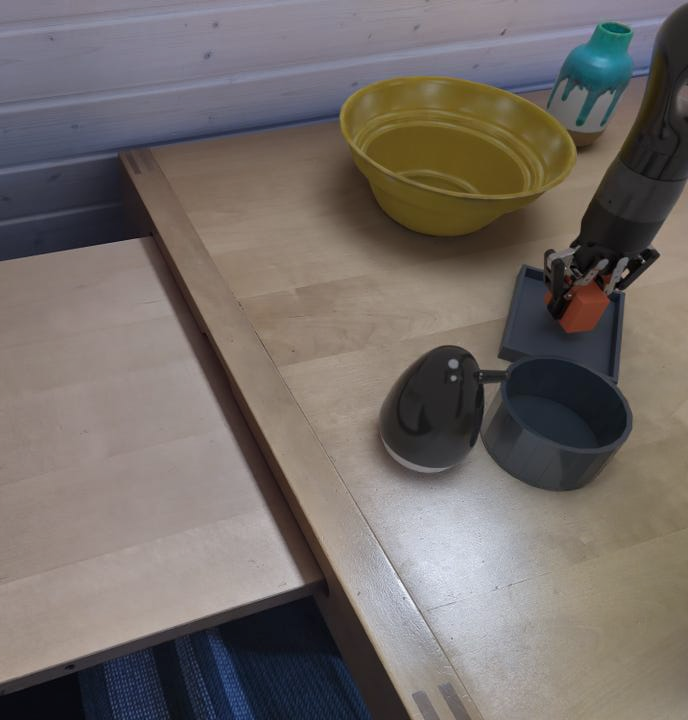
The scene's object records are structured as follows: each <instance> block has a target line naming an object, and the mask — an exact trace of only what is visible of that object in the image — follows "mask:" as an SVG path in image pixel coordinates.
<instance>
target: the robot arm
mask: <svg viewBox="0 0 688 720" xmlns="http://www.w3.org/2000/svg"><path fill="white" fill-rule="evenodd" d="M651 50H652V51H651V56H650V62H649V70H648V74H647V79H646V84H645V89H644V93H643V96H642V100H641V103H640V106H639V109H638V112H637V115H636V118H635V119H634V122H633V124H632V126H631V128H630V130H629V132H628V134H627V136H626V138H625V140H624V142H623V144H622V146H621V147H620V149H619V151H618V153H617V154H616V156H615V158H613V160H612V161H611V163H610V164H609V166H608V167H607V169H606V171H605V172H604V174H603V176H602V179H601V181H600V183H599V184H598V187H597V189H596V190H595V192H594V194H593V196H592V198H591V200H590V202H589V204H588V206H587V207H586V209H585V212H584V214H583V215H582V217H581V220H580V230H579V234H578V235H577V236H576V237H575V239H573V240H572V241H571V242H570V244H569V246H568V248H565V249H563V250H559V251H555V249H554V248H549V249H547V250H545V251H544V253H543V270H544V280H543V282H544V284H545V285H546V287H547V288H548V290H549V291H550V292H551V294H552V297H551V299H550V301H549V303H548V305H547V309H548V311H549V313H550V314H551V316H552V317H553V318H554V320H560V319H562V317H563V315H564V313H565V312H566V310H567V308H568V306H569V305H570V303H571V301H572V298H573V297H574V296H575V294H576V293H577V292H578V291H579V290H580V288H581V287H586V286H587V285H588V284H589V283H590V281H591V280H592V279H593V280H594V281H595V282H596V284H597V285H598V286H599V287H600V289H601V290H602V291H603V292H604V294H605V295H606V296H608V295H609V294H611V293H612V291H613V290H617V291H621V292H624V291H625V290H627V289H628V288H629V287H630V286H631V285H632V284H633V283H634V282H635V281H636V280H637V279H638V278H640V276H642V274H644V272H646V271H647V270H648V269H649V268H650V267H651V266H652V265H653V264H654V263H655V262H656V261H657V260H658V259H659V258H660V256H661V254H660V252H659V251H658V250H657V249H656V248H655V247H654V245H652V243H653V241H654V239H655V238H656V236H657V234H658V233H659V232H660V229H661V228H662V227H663V225H664V223H665V222H666V220H667V219H668V217H669V215H670V214H671V212H672V211H673V209H674V207H675V205H676V204H677V202H678V200H679V199H680V197H681V196H682V193H684V189H685V187H686V184H687V182H688V99H687V98H684V97H683V96H681V95H680V94H681V92H682V90H683V89H684V87H685V86H686V87H687V86H688V1H686V2H685V3H683V4H680V5H679V6H678V7H677V8H675V9H674V10H673V11H671V13H669V14H668V15H667V17H666V18H665V19H664V20H663V22H662V23H661V24H660V27H659V28H658V30H657V33H656V35H655V38H654V42H653V46H652V49H651ZM627 270H628V274H626V275H625V276H624V277H623V276H622V274H623V273H624V272H625V271H627ZM582 274H583V275H582ZM570 280H572V284H571V285H570V286H569V285H568V284H567V283H568V282H569V281H570Z"/></svg>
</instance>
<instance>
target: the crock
mask: <svg viewBox="0 0 688 720" xmlns="http://www.w3.org/2000/svg"><path fill="white" fill-rule="evenodd" d="M505 371H509V372H510V380H509V381H508V382H500V383H496V386H495V388H494V390H493V392H492V394H491V396H490V398H489V400H488V403H487V404H486V406H485V407H484V415H483V420H482V425H481V429H480V436H481V440H482V442H483V445H484V447H485V449H486V450H487V452H488V454H489V455H490V457H491V458H492V459H493V461H494V462H495V463H496V464H497V465H498V466H500V467H501V468H502V470H504V471H505V472H506V473H508V474H509V475H511V476H512V477H514V478H516V479H517V480H519V481H521V482H523V483H525V484H527V485H529V486H533V487H535V488H538V489H542V490H547V491H552V492H553V491H554V492H570V491H575V490H579V489H582V488H584V487H587V486H588V485H590V484H591V483H592V482H593V481H595V479H596V478H597V477H598V476H600V475H601V474H602V472H603V471H604V470H605V468H606V467H607V466H608V464H609V463H610V462H611V461H612V459H613V458H615V456H616V455H617V453H618V452H619V451H620V449H622V447H623V446H624V444H625V443H626V442H627V441H628V438H629V437H630V434H631V433H632V431H633V424H634V423H633V421H634V416H633V411H632V409H631V406H630V404H629V401H628V399H627V397H626V396H625V395H624V394H623V392H622V390H620V388H619V387H618V386H617V385H615V384H614V383H613V382H611V381H610V380H609V379H608V378H607V377H606V376H605V375H603V374H602V373H600V372H598V371H597V370H595V369H593V368H592V367H590V366H588V365H586V364H584V363H581V362H579V361H576V360H574V359H571V358H567V357H562V356H557V355H532V356H528V357H524V358H520V359H519V360H517V361H516V362H512V363H511V364H509V365H508V366H507V368H506V369H505Z"/></svg>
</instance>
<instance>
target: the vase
mask: <svg viewBox="0 0 688 720" xmlns="http://www.w3.org/2000/svg"><path fill="white" fill-rule="evenodd" d="M634 34H635V29H634V28H633V27H632V26H631V25H629V24H628V23H625V22H622V21H618V20H610V19H609V20H608V19H607V20H602V21H600V22H598V23H597V25H596V27H595V28H594V31H593V33H592V35H591V37H590V39H589V40H588V41H587V42H585V43H581V44H579V45H577V46H575V47H574V48H573V49H571V51H570V52H569V53H568V54H567V57H566V58H565V60H564V62H563V63H562V66H561V67H560V70H559V71H558V74H557V76H556V79H555V81H554V82H553V85H552V88H551V91H550V93H549V96H548V99H547V102H546V105H545V108H544V110H545V111H546V112H547V113H549V114H550V115H552V116H553V117H554V118H555V119H556V120H557V121H559V122H560V123H561V124H562V126H563V127H564V128H565V129H566V130H567V132H568V133H569V135H570V136H571V138H572V139H573V142H574V144H575V147H576V148H578V147H579V148H580V147H584V146H588V145H591V144H592V143H594V142H596V141H597V140H598V139H599V138H600V137H601V136H602V135H603V134H604V132H605V131H606V130H607V128H608V127H609V125H610V123H611V122H612V120H613V118H614V116H615V114H616V112H617V111H618V109H619V107H620V104H621V103H622V101H623V98H624V96H625V94H626V92H627V90H628V87H629V85H630V82H631V80H632V77H633V73H634V68H635V62H634V58H633V57H632V55H631V54H630V53H629V51H628V50H629V47H630V44H631V41H632V40H633V37H634Z"/></svg>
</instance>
